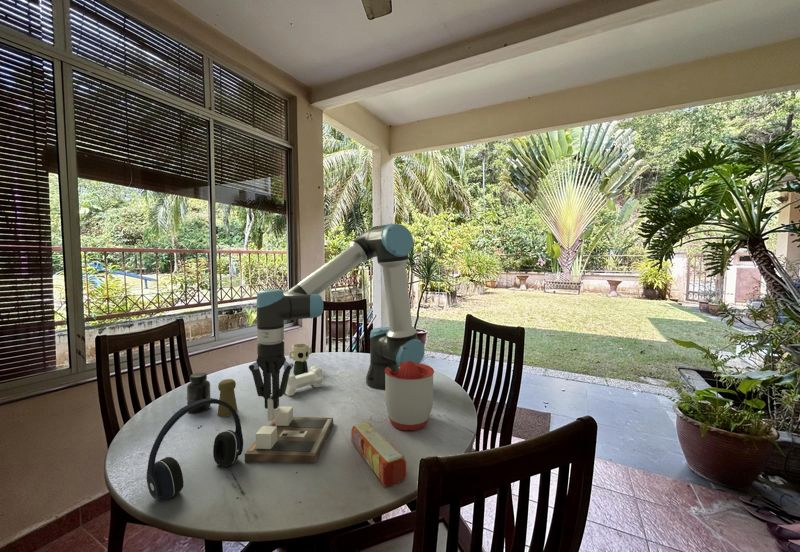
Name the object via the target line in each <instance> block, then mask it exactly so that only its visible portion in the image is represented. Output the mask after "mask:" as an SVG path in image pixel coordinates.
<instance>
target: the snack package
mask: <svg viewBox="0 0 800 552" xmlns="http://www.w3.org/2000/svg"><path fill="white" fill-rule="evenodd" d="M350 431H351V432H350V441H351V444H352V445H353V446H354V447H355V449H357V451H358V452H359V454H360V455H361V456H362V457H363V459H364V461H365V462H366V463H367V464H368V466H369V467H370V469H372V471H373V472H374V474H375V475H376V476H377V478H378V479H379V480H380V482H381V484H382V485H383V486H384V487H385V488H390V487H393V486H395V485H398V484H400V483H402V482H403V481H404V480H405V479H406V477H407V460H406V458H405V457H404V455H403V454H401V453H400V452H399V451H398V450H397V449H396V448H395V447H394V446H393V445H392V444H391V443H390V442H389V441H388V440H387V439H386V438H385V437H384V436H383V435H382V434H381V433H379V431H377V429H375V427H373V426H372V424H371V423H370V422H368V421H362V422H359V423H356V424H354V425H352V427H351V430H350Z"/></svg>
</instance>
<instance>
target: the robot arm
mask: <svg viewBox="0 0 800 552" xmlns="http://www.w3.org/2000/svg"><path fill="white" fill-rule="evenodd" d="M413 248H414V238H413V235H412V232H411V231H410V230H409V229H408V228H407V227H406V226H405V225H403V224H400V223H388V224H383V225H378V226H377V225H376V226H373V227H371V228H368V229H367V230H365V231H364V232H363V233H360V235H358V236H357V237H356V238H355V239H353V240H351V241H350V242H349V246H348V247H346V248H345V249H344V250H342V251H341V252H339V253H338V254H337V255H335V256H334V257H332V258H331V259H330V260H329V261H327V262H326V263H324V264H323V265H322V266H320V267H319V268H318V269H316V270H315V271H314V272H312V273H310V275H309V274H308V276H307V277H305V278H304V279H302V280H301V281H300V282H299V283H297V284H295V285H294V286H292V287H291V288H289V289H286V290H282V289H275V288H274V289H262V290H259V291H258V292H257V295H256V305H255V308H256V324H257V325H256V330H257V331H256V332H257V335H256V339H257V342H258V343H257V344H256V345H257V358H256V361H255V362H253V363H251V364H250V365H249V366H248V369H249V370H250V372H251V374H252V378H253V382H254V385H255V390H256V394H257V397H262V398H263V399H264V408H265V409H267V421H268V422H270V421H271V422H272V421H273V420H274V419H275V411H276V410H277V409H278V408H279V407H280V398H282V397H283V396H284V395H286V394H285V392H286V387H287V383H288V379H289V374H290V373H291V370H293V369H294V364H293V363H289V362H288V361H287V359H286V357H285V341H284V340H285V321H290V320H302V319H303V320H304V319H313V318H319V317H321V316H322V314H323V312H324V300H323V297H322V296H321V295H320V294H322V293H323V292H324V291H326V290H327V289H328V288H330V287H331V286H332V285H333V284H335V283H336V282H337V281H339V280H340V279H342V278H343V276H344V277H345V276H346V275H347V274H348V273H349V272H350V271H352V270H353V269H354V268H356V267H357V266H359V265H360V264H361V263H362V264H365V263H367V262H368V261H369V260H371V259H373V258H376V260H377V264H378V265H380V266H381V268H382V275H383V276H382V277H383V284H384V291H385V293H384V294H385V300H386V308H387V318H388V324H389V325H388V326H384V327H383V326H382V327H376V328H373V329H371V330H370V335H369V339H370V342H369V344H370V346H369V347H370V351H369V356H370V358H369V359H370V361H369V362H370V363H369V367H368V370H367V374H366V376H365V384H366V385H367V386H368V387H370V388H373V389H379V390H380V389H381V390H385V368H386V367H389V368H390V369H391V372H396V371H399V368H400V363H404V362H407V361H408V360H410V361H412V362H413V363H421V361H422V360H423V359H424V356H425V352H426V350H425V345H424V343H423V341H421V340H420V339H419V338H418V330H417V329H416V328H415V327H414V326H413V322H412V313H411V304H410V296H409V295H410V294H409V288H408V287H409V286H408V277H407V269H406V268H407V267H406V265H407V263H408V262H409V260H410V259H409V258H410V257H409V254H410V253H411V252H412V249H413ZM282 368H283V374H282V377H281V380H282V381H281V380H280V373H281V369H282ZM260 369H261V370H260ZM261 371H262V373H261Z"/></svg>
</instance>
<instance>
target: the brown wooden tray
mask: <svg viewBox="0 0 800 552" xmlns="http://www.w3.org/2000/svg"><path fill="white" fill-rule="evenodd" d="M333 425H334V417H318V416H317V417H315V416H314V417H313V416H293V420H292V421H291V423H290V424H289V426H277V442H276V443H275V444H274V446H273V447H272V448H271V449H256V440H255V441H254V442H253V443H252V445H251V446H249V448H247V450H246V451H245V453H244V462H252V463H253V462H257V463H259V462H260V463H287V464H288V463H291V464H292V463H293V464H294V463H295V464H297V463H298V464H315V463H316V462H317V460H318V457H319V455H320V453H321V451H322V450H323V447H324V444H325V443H326V441H327V437H328V436H329V434H330V432H331V430H332V427H333ZM268 426H275V419H274V420H273V421H271V422H270V423H269V424H268ZM325 440H326V441H325Z"/></svg>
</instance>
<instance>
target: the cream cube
mask: <svg viewBox="0 0 800 552" xmlns="http://www.w3.org/2000/svg"><path fill="white" fill-rule="evenodd" d="M255 441H256V449H271V448H272V447H273V446H274V444H275V443H276V442H277V426H269V425H262V426H261V427H260V428H259V429H258V431H257V432H256V433H255Z"/></svg>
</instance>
